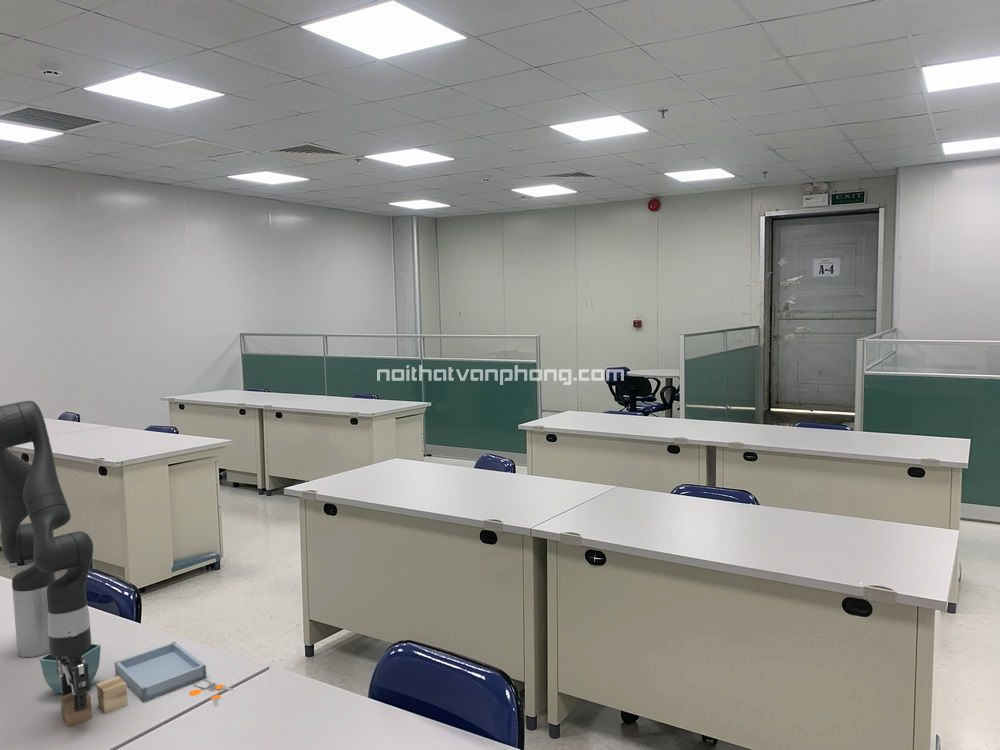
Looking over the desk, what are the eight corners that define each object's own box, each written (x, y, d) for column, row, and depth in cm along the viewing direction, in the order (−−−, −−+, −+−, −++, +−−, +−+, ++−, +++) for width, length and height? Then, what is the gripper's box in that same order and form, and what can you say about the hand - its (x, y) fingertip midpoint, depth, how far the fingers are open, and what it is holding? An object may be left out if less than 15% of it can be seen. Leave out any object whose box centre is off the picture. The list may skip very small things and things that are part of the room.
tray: (115, 674, 166) (114, 662, 166) (175, 653, 176) (174, 641, 176) (143, 702, 154) (142, 689, 154) (206, 677, 164) (205, 665, 164)
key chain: (179, 692, 158) (179, 689, 158) (208, 678, 164) (208, 675, 164) (214, 709, 151) (213, 705, 151) (242, 693, 157) (242, 690, 157)
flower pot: (74, 701, 155) (71, 662, 154) (41, 697, 157) (38, 659, 156) (104, 680, 163) (101, 644, 163) (72, 677, 165) (69, 641, 164)
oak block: (98, 705, 153) (96, 683, 153) (120, 697, 156) (118, 676, 156) (105, 713, 150) (103, 691, 150) (127, 704, 153) (126, 683, 153)
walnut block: (61, 719, 148) (60, 696, 148) (85, 710, 151) (84, 688, 151) (68, 727, 145) (66, 704, 144) (92, 718, 148) (90, 696, 148)
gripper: (39, 624, 148) (45, 697, 150) (58, 644, 138) (64, 722, 140) (79, 613, 154) (84, 684, 155) (99, 632, 144) (105, 707, 145)
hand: (74, 702), depth 147 cm, fingers open, 8 cm apart
